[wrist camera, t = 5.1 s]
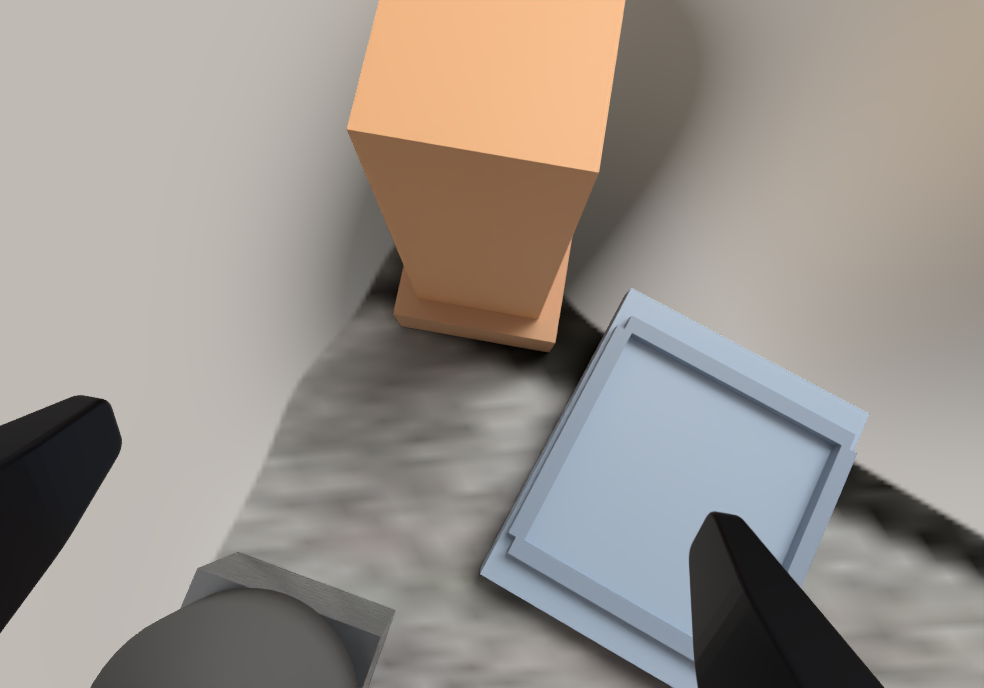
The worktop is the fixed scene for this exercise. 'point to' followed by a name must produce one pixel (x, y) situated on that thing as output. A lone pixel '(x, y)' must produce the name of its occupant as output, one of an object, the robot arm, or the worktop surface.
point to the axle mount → (345, 612)
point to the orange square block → (485, 153)
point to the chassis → (668, 481)
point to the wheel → (234, 647)
